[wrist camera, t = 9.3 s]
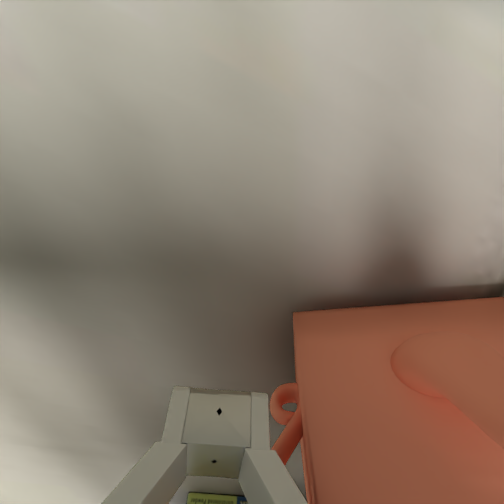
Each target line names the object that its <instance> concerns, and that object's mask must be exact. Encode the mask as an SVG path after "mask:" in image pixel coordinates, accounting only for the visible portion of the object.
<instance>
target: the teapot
mask: <svg viewBox="0 0 504 504" xmlns="http://www.w3.org/2000/svg"><path fill="white" fill-rule="evenodd" d="M293 332H294V353H295V375H296V383H286V384H282V385H280V386H279V387H278V388H276V389H275V391H274V392H273V394H272V397H271V400H270V412H271V415H272V417H273V418H274V420H275V421H276V422H278V423H279V424H282V425H287V426H286V427H285V429H284V430H283V432H282V433H281V435H280V436H279V438H278V439H277V441H276V442H275V444H274V445H273V447H272V449H271V450H275V451H276V452H277V454H278V455H279V457H280V459H281V460H282V462H283V464H284V465H286V463H287V461H288V459H289V458H290V456H291V454H292V453H293V451H294V449H295V448H296V446H297V445H298V443H299V441H300V444H301V453H302V462H303V470H304V479H305V488H306V497H307V503H308V504H504V297H493V298H479V299H465V300H451V301H437V302H423V303H409V304H395V305H382V306H368V307H355V308H341V309H327V310H314V311H301V312H293ZM286 403H296V404H297V409H296V411H295V412H291V411H286V410H284V409H283V408H282V405H283V404H286Z"/></svg>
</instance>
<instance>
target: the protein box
mask: <svg viewBox="0 0 504 504" xmlns="http://www.w3.org/2000/svg"><path fill="white" fill-rule="evenodd" d="M306 502H307V501H306ZM186 504H248V502H247V500H246V497H241V496H229V495H216V494H205V493H193V492H191V493H189V494H188V497H187V503H186Z"/></svg>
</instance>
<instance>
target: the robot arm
mask: <svg viewBox="0 0 504 504" xmlns="http://www.w3.org/2000/svg"><path fill="white" fill-rule="evenodd" d="M186 475H188V476H213V477H224V478H235V479H238V481H239V484H240V486H241V488H242V490H243V493H244V495H245V497H246V500H247V502H248V504H308V503H307V502H306V500H305V498H304V497H303V495H302V493H301V492H300V490H299V488H298V487H297V485H296V484H295V482H294V480H293V479H292V477H291V475H290V474H289V472H288V470H287V469H286V467H285V465H284V464H283V462H282V460H281V459H280V457H279V455H278V454H277V452H276V451H275V450H270V426H269V399H268V395H267V393H259V392H250V391H234V390H215V389H203V388H191V387H182V386H174V388H173V391H172V394H171V399H170V404H169V408H168V413H167V417H166V422H165V426H164V431H163V435H162V440H161V442H155V443H154V444H153V446H152V447H151V448H150V449H149V450H148V451H147V452H146V454H145V455H144V456H143V457H142V458H141V459H140V460H139V462H138V463H137V464H136V465H135V466H134V467H133V468H132V470H131V471H130V472H129V473H128V474H127V475H126V476H125V477H124V479H123V480H122V481H121V482H120V483H119V484H118V485H117V487H116V488H115V489H114V490H113V491H112V492H111V493H110V495H109V496H108V497H107V498H106V499H105V500H104V501H103V503H102V504H168V503H169V502H170V500H171V499H172V497H173V496H174V494H175V493H176V491H177V490H178V488H179V487H180V485H181V484H182V482H183V481H184V479H185V478H186Z"/></svg>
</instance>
